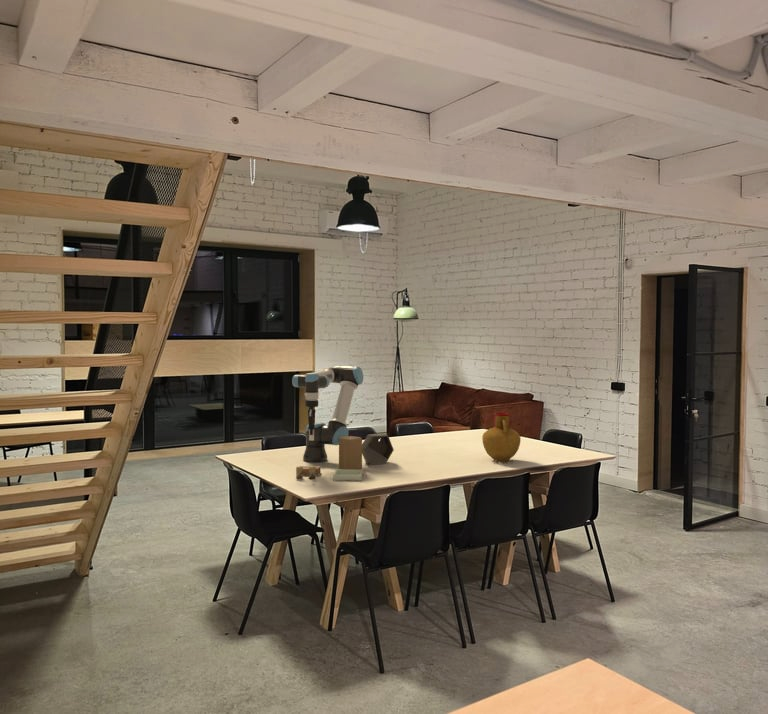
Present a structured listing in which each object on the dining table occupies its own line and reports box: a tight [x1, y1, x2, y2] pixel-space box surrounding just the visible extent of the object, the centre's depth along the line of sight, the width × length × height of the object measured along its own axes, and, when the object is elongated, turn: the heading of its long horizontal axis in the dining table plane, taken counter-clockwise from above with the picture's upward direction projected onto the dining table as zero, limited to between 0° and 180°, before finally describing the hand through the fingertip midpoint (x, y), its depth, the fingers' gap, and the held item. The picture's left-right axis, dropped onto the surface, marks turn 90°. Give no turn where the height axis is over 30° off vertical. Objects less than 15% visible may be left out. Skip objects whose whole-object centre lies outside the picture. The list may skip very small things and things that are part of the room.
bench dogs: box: [295, 466, 316, 480], centre depth 364 cm, size 4×11×6 cm, turn 88°
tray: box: [332, 468, 364, 482], centre depth 366 cm, size 15×15×3 cm
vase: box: [481, 412, 521, 463], centre depth 419 cm, size 24×24×30 cm
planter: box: [362, 433, 395, 466], centre depth 407 cm, size 17×8×21 cm
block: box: [338, 435, 363, 470], centre depth 381 cm, size 10×10×20 cm
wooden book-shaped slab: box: [298, 465, 321, 477], centre depth 375 cm, size 8×12×4 cm, turn 87°
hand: (311, 440), depth 385 cm, fingers closed
